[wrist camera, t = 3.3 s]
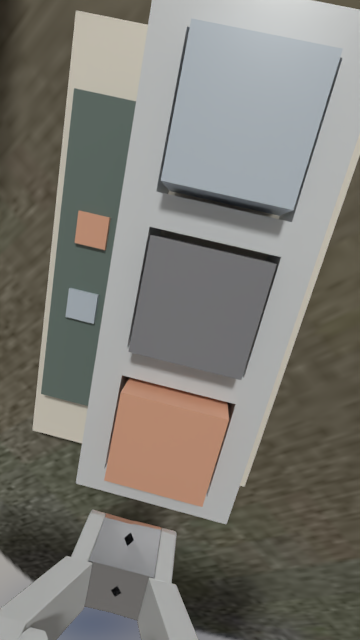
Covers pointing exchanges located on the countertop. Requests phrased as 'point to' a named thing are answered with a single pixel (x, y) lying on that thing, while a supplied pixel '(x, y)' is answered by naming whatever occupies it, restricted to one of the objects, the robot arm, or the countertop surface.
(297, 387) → the countertop surface
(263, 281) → the key charcoal
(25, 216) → the countertop surface
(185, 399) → the key terracotta
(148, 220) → the keypad
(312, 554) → the countertop surface
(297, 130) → the key blue
